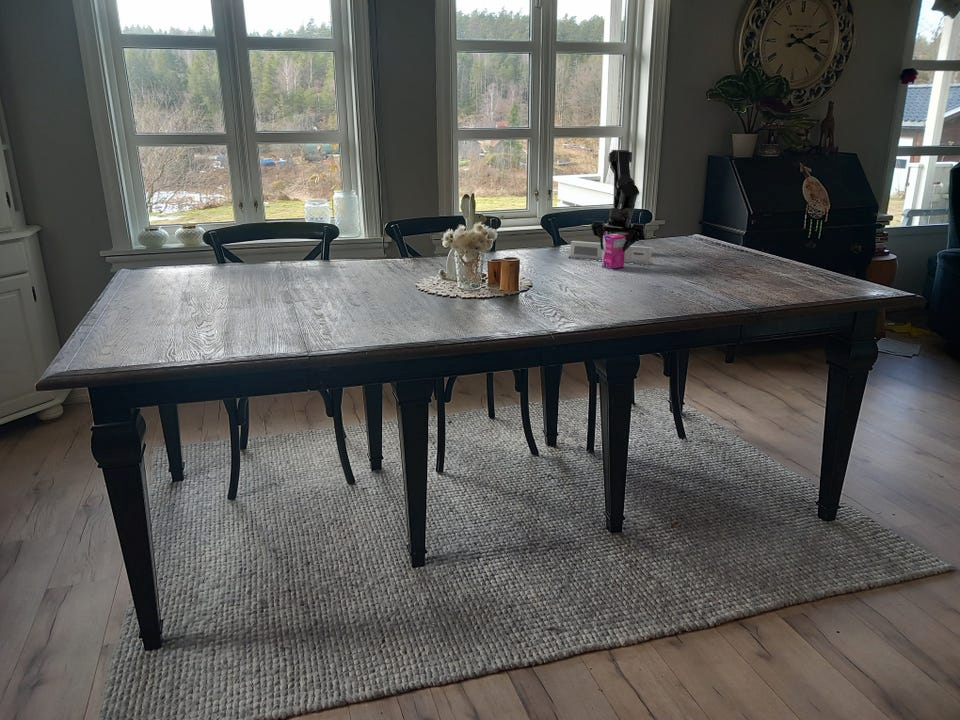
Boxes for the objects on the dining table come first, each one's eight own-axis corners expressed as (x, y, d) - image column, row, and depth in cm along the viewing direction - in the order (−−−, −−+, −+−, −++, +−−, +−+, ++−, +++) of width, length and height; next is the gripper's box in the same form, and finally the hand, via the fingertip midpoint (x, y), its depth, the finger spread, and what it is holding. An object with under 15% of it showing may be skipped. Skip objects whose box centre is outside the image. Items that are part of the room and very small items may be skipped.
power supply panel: (574, 255, 274) (574, 240, 272) (652, 262, 261) (653, 246, 259) (568, 258, 269) (569, 242, 267) (647, 265, 256) (648, 249, 254)
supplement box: (600, 267, 254) (602, 234, 250) (614, 265, 257) (616, 233, 253) (611, 270, 249) (613, 237, 246) (624, 268, 252) (626, 235, 248)
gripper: (594, 197, 253) (582, 233, 247) (646, 200, 245) (635, 237, 239) (600, 217, 262) (588, 252, 256) (651, 221, 254) (640, 257, 248)
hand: (612, 249), depth 250 cm, fingers closed on supplement box, 8 cm apart
